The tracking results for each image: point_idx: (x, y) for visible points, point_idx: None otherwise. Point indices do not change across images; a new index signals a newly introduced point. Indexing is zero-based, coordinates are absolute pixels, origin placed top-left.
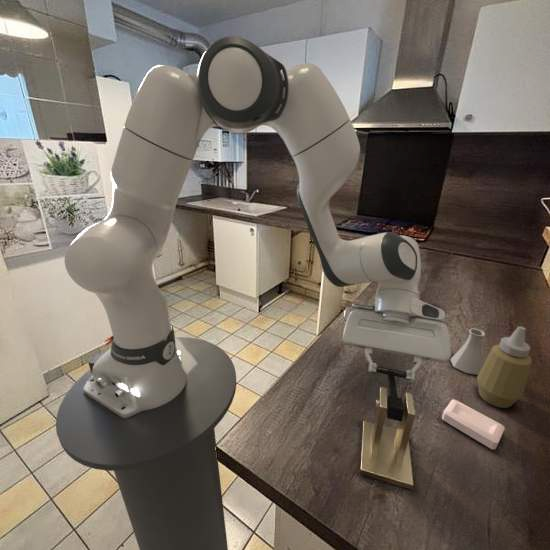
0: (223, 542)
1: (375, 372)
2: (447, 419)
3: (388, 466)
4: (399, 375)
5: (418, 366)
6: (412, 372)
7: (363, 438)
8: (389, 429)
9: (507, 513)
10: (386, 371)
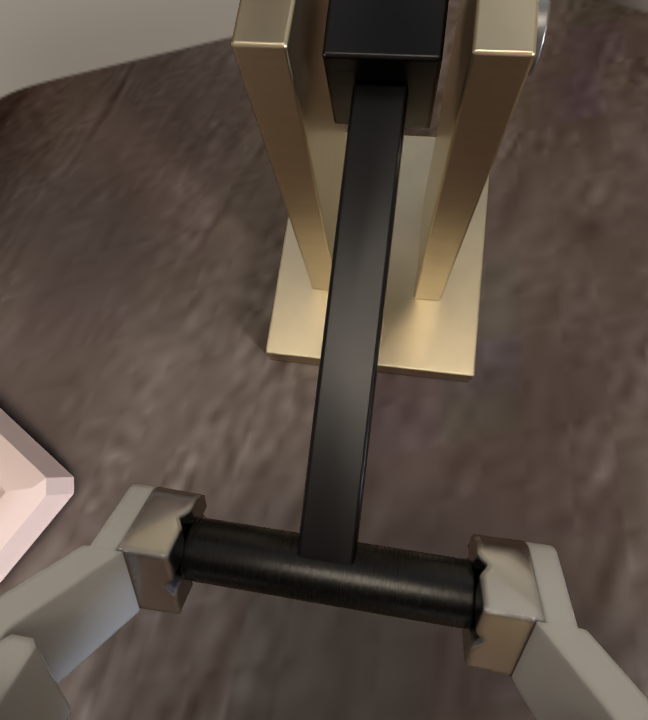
0: None
1: (479, 536)
2: (51, 467)
3: None
4: (252, 526)
5: (21, 589)
6: (120, 535)
7: (478, 274)
8: None
9: (36, 149)
10: (371, 553)
